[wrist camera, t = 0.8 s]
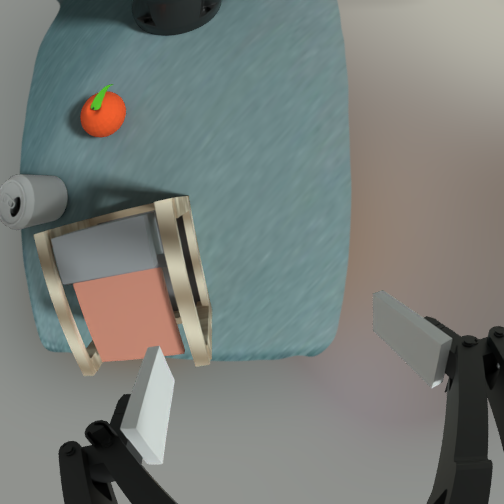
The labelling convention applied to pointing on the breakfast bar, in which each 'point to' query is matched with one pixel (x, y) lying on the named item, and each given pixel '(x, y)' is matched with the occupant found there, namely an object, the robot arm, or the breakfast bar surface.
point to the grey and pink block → (121, 286)
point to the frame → (175, 274)
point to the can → (31, 200)
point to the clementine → (103, 113)
